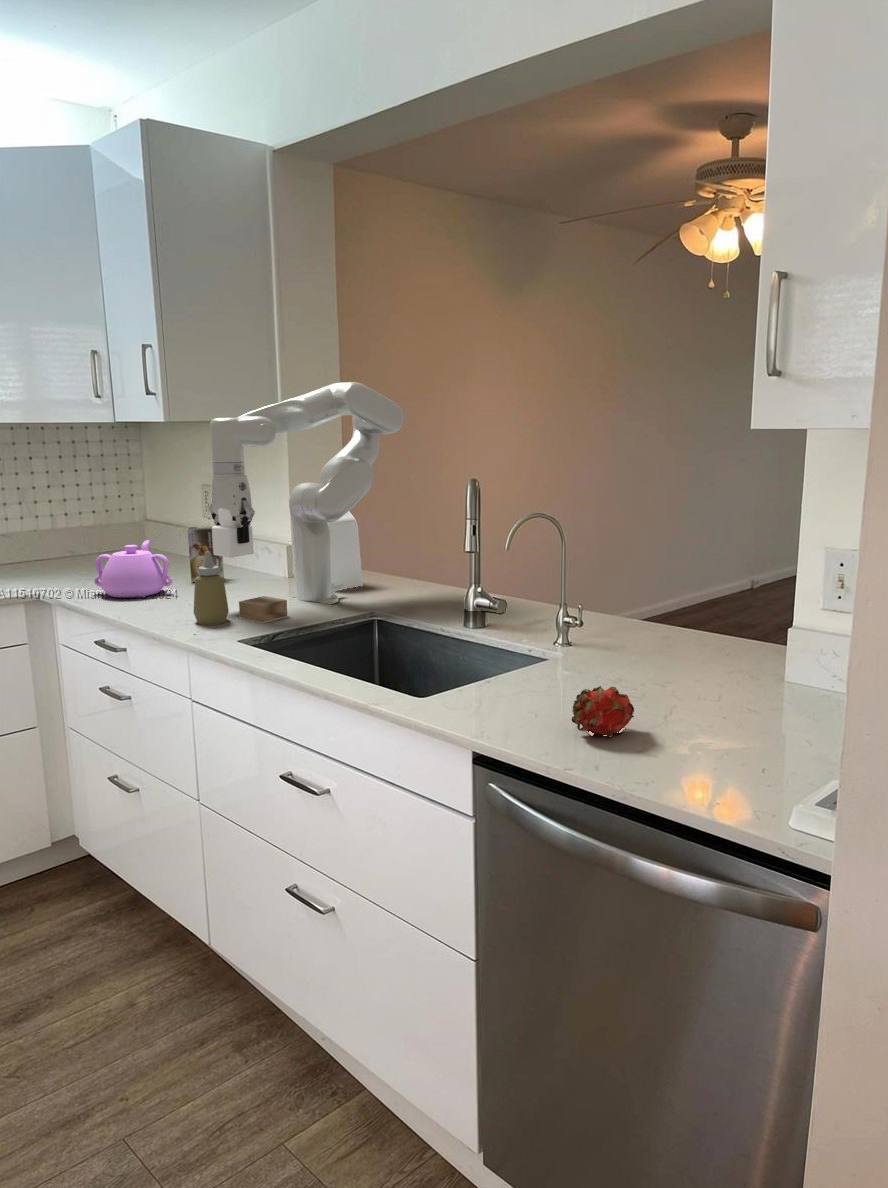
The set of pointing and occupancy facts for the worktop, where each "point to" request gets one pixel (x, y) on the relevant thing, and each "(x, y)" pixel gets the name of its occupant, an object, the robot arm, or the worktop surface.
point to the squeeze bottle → (210, 594)
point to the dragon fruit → (602, 711)
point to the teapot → (132, 572)
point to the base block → (263, 608)
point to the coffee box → (201, 550)
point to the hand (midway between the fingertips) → (233, 541)
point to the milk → (345, 552)
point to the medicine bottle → (229, 537)
